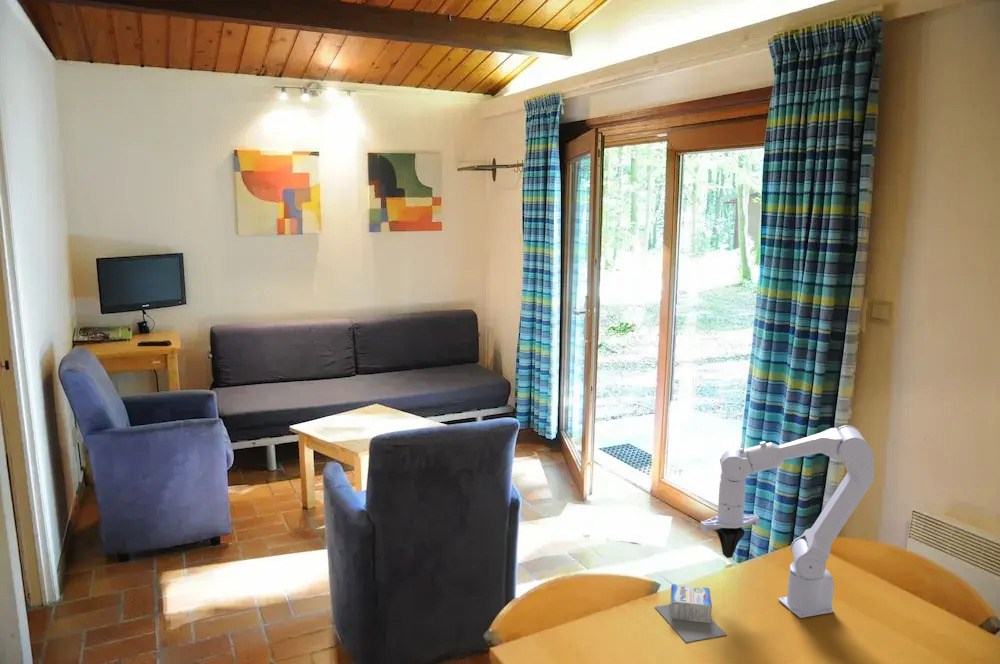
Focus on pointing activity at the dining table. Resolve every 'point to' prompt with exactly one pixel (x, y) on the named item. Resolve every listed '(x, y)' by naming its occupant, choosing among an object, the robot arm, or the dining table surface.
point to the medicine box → (691, 603)
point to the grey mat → (691, 627)
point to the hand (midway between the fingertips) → (727, 555)
